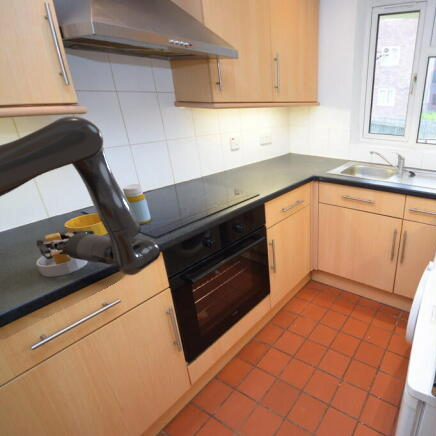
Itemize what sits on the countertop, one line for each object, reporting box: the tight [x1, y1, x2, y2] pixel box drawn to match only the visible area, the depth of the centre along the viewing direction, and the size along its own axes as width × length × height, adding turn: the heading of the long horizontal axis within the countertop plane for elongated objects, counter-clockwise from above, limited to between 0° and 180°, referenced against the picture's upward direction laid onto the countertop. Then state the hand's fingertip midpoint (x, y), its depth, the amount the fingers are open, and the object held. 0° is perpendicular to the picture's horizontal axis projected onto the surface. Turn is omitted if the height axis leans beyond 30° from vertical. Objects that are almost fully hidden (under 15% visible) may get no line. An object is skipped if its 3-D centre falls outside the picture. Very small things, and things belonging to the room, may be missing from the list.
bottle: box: [122, 183, 152, 226], centre depth 117 cm, size 7×7×15 cm
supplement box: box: [44, 232, 70, 265], centre depth 88 cm, size 3×3×10 cm
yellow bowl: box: [64, 212, 109, 236], centre depth 110 cm, size 13×13×5 cm
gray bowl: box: [35, 255, 89, 278], centre depth 90 cm, size 11×11×4 cm
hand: (47, 239), depth 88 cm, fingers closed on supplement box, 4 cm apart
